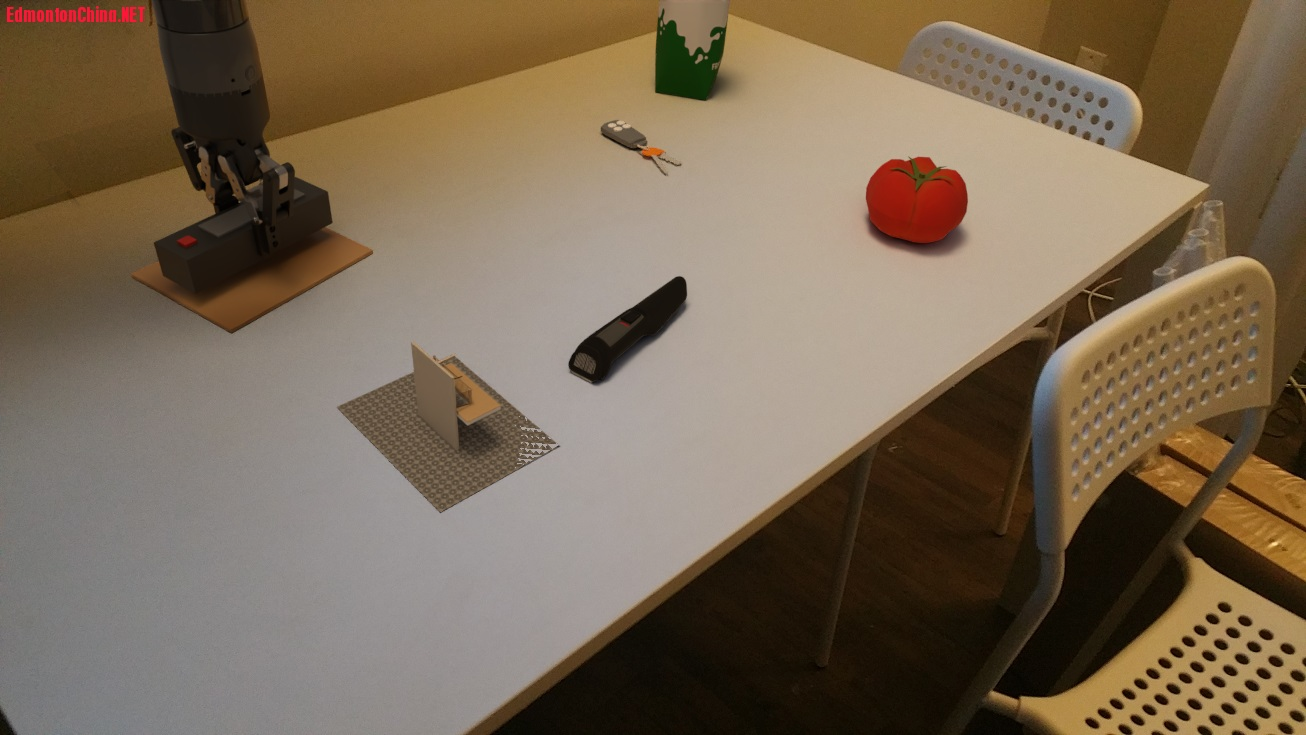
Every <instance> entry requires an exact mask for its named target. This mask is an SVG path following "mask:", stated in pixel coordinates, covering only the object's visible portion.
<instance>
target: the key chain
mask: <svg viewBox="0 0 1306 735" xmlns="http://www.w3.org/2000/svg"><path fill="white" fill-rule="evenodd" d="M600 132H601V133H602V134H603V135H605V136H606V137H608V138H610V139H612V140H614V141H616V142H618V143H620V144H622V145H623V146H626V147H628V148H630V149H637V148H640V149H642V150H641V154H642V155H643V156H646V157H651V158H652V159H653V160H654V162H655V163H656V165H657V166H658V167H659V169H661V171H662V173H664V174H665V175H668V174H669V171H668V170H667V168H666V166H665V165H664V164H663V163H662V160H665V162H669V163H672V164H673V165H677V166H678V165H679V166H680V165H682V164H683V162H682V161H680V160H679V159H677V158H674V157H671V156H670V155H667V151H665V150H664V149H660V148H658V147H653V146H652V147H650V146H649V145H648V140H647V136H645V135H644V134H643V133H641V132H640V131H639V130H637V129H635V128H634V127H633V126H632V125H631V124H629V123H627V122H625V121H624V120H619V119H614V120H611V121H608V122H605V123H603V124H602V125H601V126H600ZM661 159H662V160H661Z"/></svg>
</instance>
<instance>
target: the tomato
mask: <svg viewBox="0 0 1306 735" xmlns="http://www.w3.org/2000/svg"><path fill="white" fill-rule="evenodd" d="M947 167H948V166H947V165H946V166H944V165H943V166H937V165H936V164H935V162H934V161H933V159H931V157H930V156H915V157H913V158H911V157H910V156H908V159H907V160H905V159H902V158H890V159H889V160H888V161H886V162H884V163H883V164H881V165H880V166H879V167H878V168H877V169H876V170H875V172H873V174H872V175H871V177H870V178H869V180H868V182H867V185H866V188H865V202H866V206H867V211H868V216H869V220H870V222H871V223H872V224H873V225H874V226H875V227H876V228H877V229H878V230H879V231H881V232H882V233H884V234H886V235H888V236H889V237H893V238H897V239H900V240H905V241H909V242H912V243H919V244H928V243H933V242H939V241H942V240H943V239H944V238H945V237H946V236H947V235H948V234H949V233H950V232H951V231H953V230H954V229H956V228H957V227H958V226H959V225H960V224H961V223H962V222H963V221H964V218H965V217H966V214H967V211H968V203H969V197H968V196H969V195H968V189H967V184H966V182H965V180H964V178H963V177H962V175H961V174H960V173H959V172H958V171H957V170H955V169H952V168H947Z"/></svg>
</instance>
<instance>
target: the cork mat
mask: <svg viewBox="0 0 1306 735" xmlns="http://www.w3.org/2000/svg"><path fill="white" fill-rule="evenodd" d="M372 254H374V249H372V248H370V247H368V246H365V245H364V244H361V243H359V242H358V241H355V240H353V239H351V238H349V237H347V236H345V235H343V234H341V233H338V232H336V231H335V230H332V229H330V228H328V227H327V226H326V227H324V228H322V229H320V230H318V231H316V232H315V233H313V234H311V235H309V236H307V237H305V238H303V239H301V240H299V241H297V242H295V243H293V244H291V245H290V246H288V247H286V248H284V249H282V250H280V251H279V252H277V253H275V254H273V255H271V256H269V257H267V258H265V259H263V260H261V261H259V262H257V263H255V264H253V265H251V266H249V267H247V268H245V269H243V270H241V271H239V272H238V273H236V274H234V275H232V276H230V277H228V278H226V279H224V280H222V281H220V282H218V283H216V284H214V285H213V286H211V287H209V288H207V289H205V290H203V291H201V292H199V293H197V294H195V293H193V292H191V291H189V290H188V289H186V288H184V287H182V286H180V285H179V284H177V283H175V282H173V281H171V280H169V279H168V278H166V277H164V276H163V274H162V270H161V267H160V264H159V260H158V259H157V261H154V262H152V263H150V264H148V265H145V266H144V267H141V268H139V269H137V270H135V271H133V272H131V273H130V276H131V278H133V279H135V280H137V281H138V282H140V283H142V284H143V285H145V286H148V287H149V288H150V289H153V290H154V291H156V292H157V293H160V294H161V295H162V296H165V297H167V298H168V299H169V300H172V301H174V302H175V303H177V304H178V305H180V306H182V307H184V308H186V309H188V310H190V311H192V312H193V313H195V314H197V315H198V316H200V317H202V318H203V319H205V320H207V321H209V322H210V323H213V324H214V325H216V326H218V327H219V328H222V329H223V330H225V331H226V332H228V333H230V334H233V333H234V332H236V331H238V330H240V329H241V328H243V327H245V326H247V325H248V324H251V323H252V322H254V321H255V320H257V319H259V318H261V317H263V316H264V315H266V314H268V313H270V312H271V311H273V310H275V309H277V308H278V307H281V306H283V304H286V303H288V302H290V301H291V300H293V299H295V298H296V297H298V296H301V295H302V294H303V293H305V292H307V291H309V290H311V289H312V288H314V287H316V286H317V285H319V284H321V283H323V282H325V281H326V280H328V279H330V278H333V276H335V275H337V274H338V273H340V272H342V271H343V270H346V269H348V268H350V267H351V266H353V265H354V264H356V263H358V262H360V261H362V260H363V259H365V258H367V257H369V256H370V255H372Z"/></svg>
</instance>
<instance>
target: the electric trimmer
mask: <svg viewBox="0 0 1306 735" xmlns="http://www.w3.org/2000/svg"><path fill="white" fill-rule="evenodd" d="M687 297H688V286H687V280H686V279H685V277H683V276H682V275H678V276H675V277H673V278H672V279H671V280H669V281H668V282H666V283H665V284H663V285H662V286H660V287H659V288H658V289H656V290H654V292H652V293H650V294H649V295H648V296H646V297H645V298H643V299H642V300H641V301H639V302H638V303H636V304H635V305H634V306H632V307H630V308H628V309H626V310H624V311H623V312H622V313H620V314H619V315H617V316H616V317H614V318H613V319H611V320H610V321H608V322H607V323H606V324H604V325H602V326H601V327H600V328H598V329H597V330H596V331H594V332H592V333H591V334H589V335H588V336H587V337H586V338H584V340H583V341H582V342H580V343H579V345H578V346H577V347H576V348H575V350H574V351H573V352H572V354H571V355H570V358H569V359H568V364H567V365H568V370H569V373H571V374H573V375H575V376H577V377H579V378H581V379H582V380H585V381H586V382H589V383H590V384H592V383H593V382H596V381H600V382H601V381H602V380H604V379H605V378H606V376H607V375H608V373H609V371H610V369H611V366H612V363H613V362H615V361H616V360H617V359H618V358H619V357H620V356H622V355H623V354H624V353H625V352H626V351H628V350H629V349H630V348H631V347H633V345H635V344H636V343H638V341H640V340H641V339H642V338H643V337H645V336H646V337H647V336H654V335H656V334H657V333H658V332H659V331H660V330H661V329H662V328H663V327H664V326H665V325H666V323H667V322H668V321H669V320H670V319H671V318H672V317H673V315H674V314H675V313H676V312H677V311H678V310H679V309H680V307H681V306H682V305H683V304H684V303H685V302H686V300H687Z"/></svg>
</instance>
